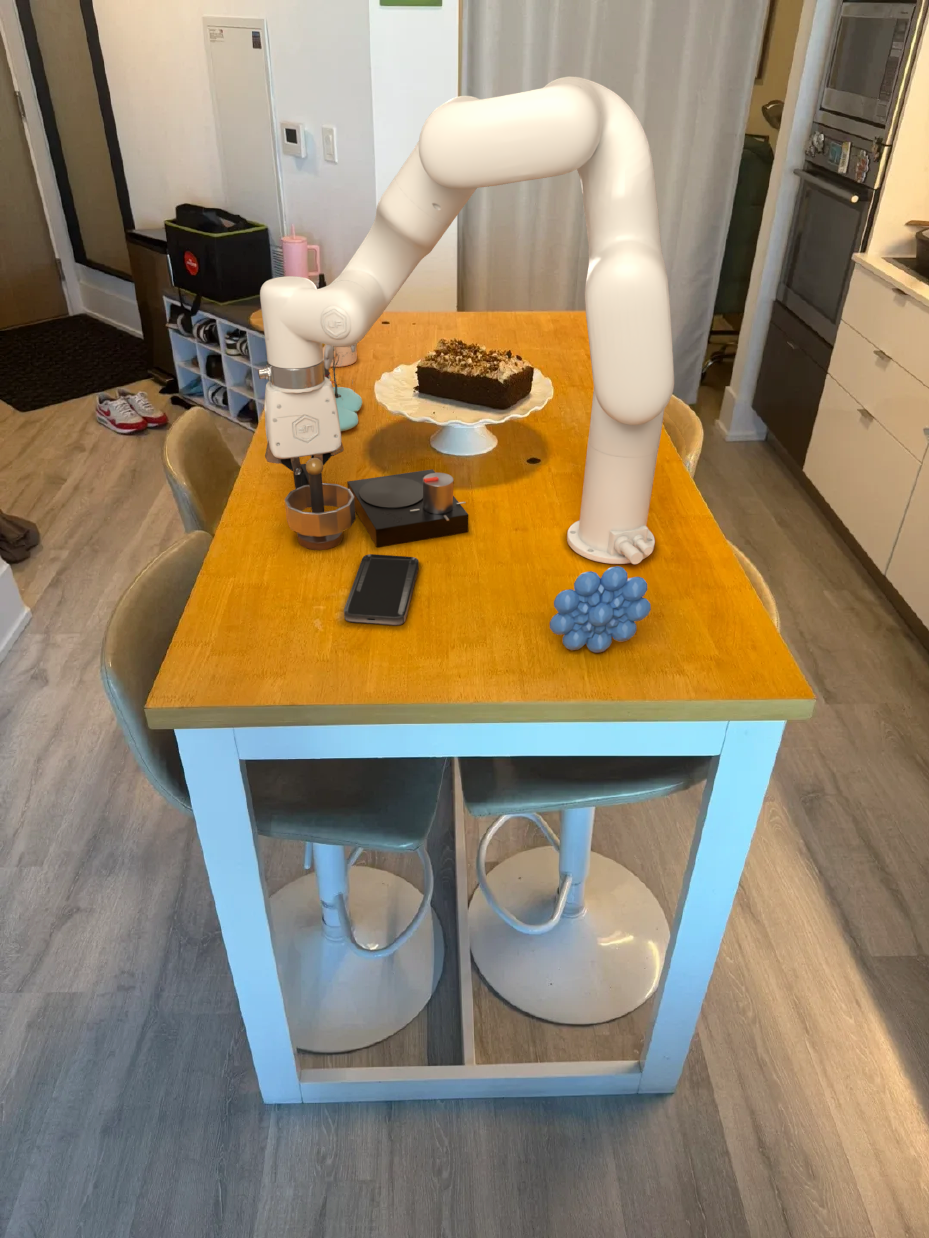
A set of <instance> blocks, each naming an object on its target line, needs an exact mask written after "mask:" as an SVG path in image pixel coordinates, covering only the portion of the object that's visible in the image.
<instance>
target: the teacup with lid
mask: <svg viewBox="0 0 929 1238" xmlns="http://www.w3.org/2000/svg"><path fill="white" fill-rule="evenodd" d="M326 345H327V344H325V346H324V347H323V360H324V351H325V347H326ZM334 350H335V351H334V357H335V356H336V357H335V358H334V359H335V360H336V361H335V364H336V363H337V361H338V357H339V361H338V363H337V364H338V367H337V365H336V368H341V367H347V366H351V365H354V363H356V362H357V360H358V353H357V348H356V349H355V352H352V351H351V346H348V347H336V346H334ZM337 355H338V356H337ZM332 361H333V360H332ZM341 361H342V362H341ZM324 362H325V360H324ZM333 363H334V362H332V363H331V366H330V368H333ZM340 364H341V365H340ZM334 367H335V365H334Z"/></svg>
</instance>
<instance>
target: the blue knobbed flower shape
mask: <svg viewBox="0 0 929 1238" xmlns="http://www.w3.org/2000/svg"><path fill="white" fill-rule="evenodd" d="M647 592H648V582H646V580H645V579H644V578H643V577H641V576H633V577H628V572H627V571H626V570H625V568H624V567H622V566H619V565H617V566H611V567H609V568H607V569H606V570H605V571H604V572H603V574H602V575H601V576H599V574H598V573H597V572H595V571H592V570H590V571H584V572H582V573H580V574H579V575H577V577H576V579H575V581H574V583H573V589H572V588H570V589H564V590H562V591H560V592H559V593H558V594H557V595H556V596H555V598H554V600H553V607H554V609H555V610H556V611H557V613H555V614H554V615H553V616H552V617H551V619H550V620H549V629H550V630H551V632H552V633H553V634H555V635H557V636H562V635H563V636H562V645H563V646H564V647H565V648H566V649H568V650H569V651H576V650H577V651H578V650H580V649H581V648H583V647H584V646H585V645H586V647H587V649H588V650H589V651H590V652H592V653H594V654H598V653H604V652H605V651H606V650H607V649H609V648H610V646H611V645H612V643H613V640H614V641H616V642H619V643H621V642H627V641H630V639H632V638H633V637H634V636H635V634H636V632H637V631H638V630H637V627H638V626H637V623H636V622H639V621H643V620H644V619H645V618H647V617H648V616H649V614H650V612H651V610H652V608H651V607H652V606H651V605H652V604H651V602H650V601H649V600H648V599H647V598H645V597H644V596H645V595H646V593H647Z"/></svg>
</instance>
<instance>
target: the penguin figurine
mask: <svg viewBox="0 0 929 1238" xmlns="http://www.w3.org/2000/svg"><path fill="white" fill-rule="evenodd" d="M324 346H325V344H323V343H322V347H324ZM357 346H358V343H357V344H355V345H352V346H351V351H352V352H355V349H356V350H357ZM334 351H335V350H334V346H331V345H326V347H325V351H324V360H325V362H324V372H325V377H327V378H328V379H329V380H330V381H331V383H332V384H333V385H334V386H333V390H334V394H335V398H336V404H337V410H338V416H339V423H340V430H341V432H344V431H348V430H351V429H353V428H355V427H356V426H357V425H358V424H359V417H358V413H357V412H359V411H360V410H361V408H362V406H363V398H362V397H361V395H360V394H359V393H357V392H356V391H355V389H354V390H353V389H352V388H349V387H343V386H342V384H340V383H338V382H337V378H336V369H337V368H339V367H338V364H337V363H338V361H339V357H338V361H337V363H336V364H335V361H336V360H335V359H334V358H335V357H336V356H335V357H334ZM337 356H338V355H337ZM332 360H333V361H332ZM332 362H334V363H333V367H332V373H333V379H332V376H331V372H330V369H331V367H330V366H331V363H332ZM341 362H342V361H341ZM334 365H335V367H334ZM336 365H337V367H336ZM340 365H341V364H340ZM351 385H354V380H352V383H351Z"/></svg>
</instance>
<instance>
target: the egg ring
mask: <svg viewBox="0 0 929 1238" xmlns="http://www.w3.org/2000/svg"><path fill="white" fill-rule="evenodd" d="M300 464H301V466H302V468H303V470H304V472H305V474H306V484H307V485H304V486H301V487H299V488H297V489H295V488H294V489H293V490H290V491H289V492H288V493H287V495H286V497H285V498H284V508H285V516H286V517H285V518H286V522H287V525H288V526H289V529H290V530H291V531H293V532H296V534H297V533H299V534H302V535H307V536H318V537H320V536H321V537H322V536H328V535H333V534H339V533H341V532H342V533H343V532H344V531H347V530H348V529H350V528H351V527H352V526H353V524H354V523H355V521H356V519H357V517H356V511H355V501H354V496H353V494H352V492H351V491H350V489H348V487H346V486H344V485H340V484H338V483H327V482H322V484H323V497H324V507H333V508H334V507H336V509H335V510H328V511H325V512H322V513H312V511H311V512H310V511H304V510H306V509H309V508H310V509H311V497H310V485H309V473H308V472H307V470H306V463H300Z"/></svg>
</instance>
